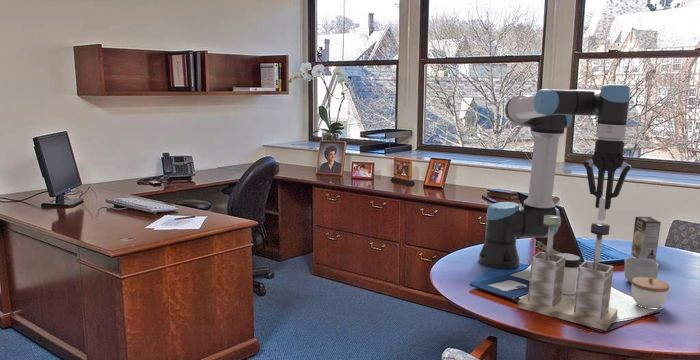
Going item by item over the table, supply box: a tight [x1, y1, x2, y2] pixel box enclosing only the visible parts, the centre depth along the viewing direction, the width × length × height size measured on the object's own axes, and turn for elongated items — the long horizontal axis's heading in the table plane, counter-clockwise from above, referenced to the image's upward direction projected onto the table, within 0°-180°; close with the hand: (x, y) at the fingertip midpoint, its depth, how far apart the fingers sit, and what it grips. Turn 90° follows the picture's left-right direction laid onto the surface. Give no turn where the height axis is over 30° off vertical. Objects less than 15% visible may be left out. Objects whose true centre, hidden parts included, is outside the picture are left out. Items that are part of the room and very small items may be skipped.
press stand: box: [517, 251, 619, 331], centre depth 178 cm, size 26×14×16 cm, turn 54°
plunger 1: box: [543, 215, 562, 261], centre depth 180 cm, size 6×6×17 cm
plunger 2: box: [590, 222, 611, 271], centre depth 172 cm, size 6×6×17 cm
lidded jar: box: [631, 277, 670, 309], centre depth 185 cm, size 11×11×9 cm
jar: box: [555, 252, 581, 296], centre depth 196 cm, size 9×8×12 cm
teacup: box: [623, 255, 660, 284], centre depth 208 cm, size 14×11×8 cm
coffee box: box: [631, 216, 662, 261], centre depth 236 cm, size 9×6×16 cm
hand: (601, 219), depth 170 cm, fingers closed
